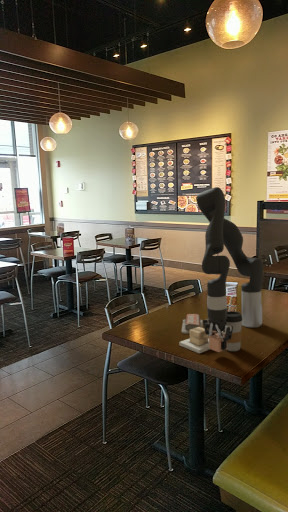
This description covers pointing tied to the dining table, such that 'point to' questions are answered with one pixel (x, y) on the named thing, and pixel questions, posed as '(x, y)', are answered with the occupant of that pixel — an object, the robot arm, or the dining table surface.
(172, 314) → the dining table surface
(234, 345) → the coffee cup
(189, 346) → the plate
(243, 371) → the dining table surface
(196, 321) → the packaged product
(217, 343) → the terracotta block
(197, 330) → the maple block
